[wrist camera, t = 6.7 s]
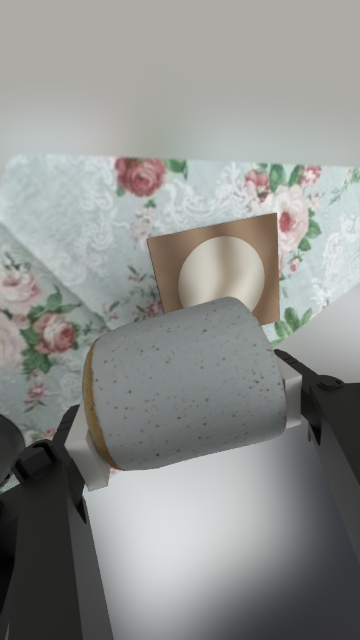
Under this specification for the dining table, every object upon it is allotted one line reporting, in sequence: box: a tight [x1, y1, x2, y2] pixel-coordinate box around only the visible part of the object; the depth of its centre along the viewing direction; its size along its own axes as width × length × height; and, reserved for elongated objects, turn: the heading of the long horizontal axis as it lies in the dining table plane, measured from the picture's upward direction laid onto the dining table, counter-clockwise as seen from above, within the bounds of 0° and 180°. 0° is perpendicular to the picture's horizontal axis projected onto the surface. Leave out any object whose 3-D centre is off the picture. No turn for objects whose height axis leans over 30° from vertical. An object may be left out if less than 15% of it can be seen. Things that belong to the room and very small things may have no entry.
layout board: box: [147, 213, 280, 326], centre depth 30 cm, size 18×16×1 cm
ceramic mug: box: [82, 296, 287, 471], centre depth 12 cm, size 11×8×8 cm
